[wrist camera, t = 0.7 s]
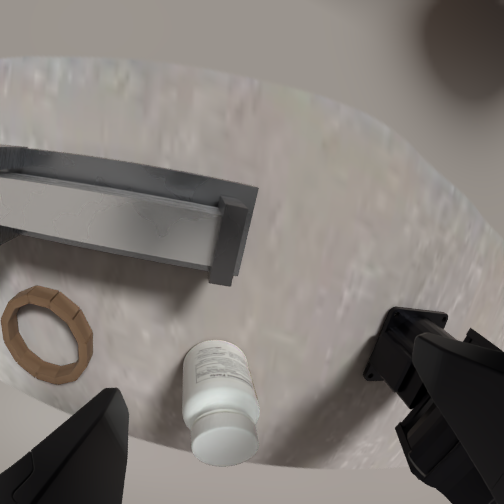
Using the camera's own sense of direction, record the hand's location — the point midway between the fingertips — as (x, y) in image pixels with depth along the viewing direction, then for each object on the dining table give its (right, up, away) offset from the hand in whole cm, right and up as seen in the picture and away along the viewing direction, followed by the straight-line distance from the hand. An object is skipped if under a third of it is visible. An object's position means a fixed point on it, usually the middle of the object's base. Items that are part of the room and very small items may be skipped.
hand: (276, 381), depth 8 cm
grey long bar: (-9, +6, +8) cm, 13 cm away
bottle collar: (-15, -2, +10) cm, 18 cm away
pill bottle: (-3, -4, +13) cm, 14 cm away
